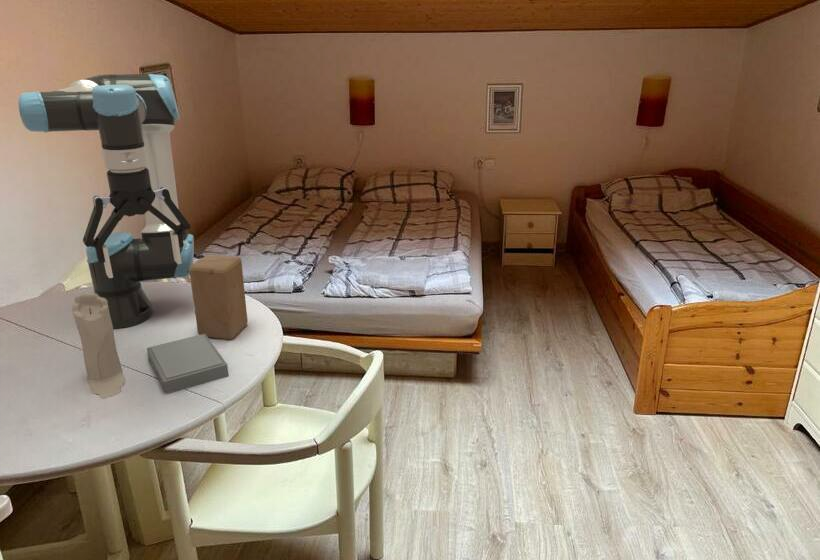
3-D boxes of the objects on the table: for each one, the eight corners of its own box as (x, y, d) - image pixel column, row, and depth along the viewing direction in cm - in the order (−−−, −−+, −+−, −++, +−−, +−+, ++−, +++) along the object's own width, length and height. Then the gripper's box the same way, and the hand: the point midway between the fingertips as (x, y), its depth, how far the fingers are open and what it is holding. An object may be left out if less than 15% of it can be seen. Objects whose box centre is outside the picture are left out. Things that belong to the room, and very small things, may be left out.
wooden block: (232, 341, 152) (223, 269, 144) (196, 337, 153) (186, 266, 146) (249, 324, 161) (242, 256, 153) (215, 320, 163) (207, 252, 155)
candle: (93, 401, 126) (74, 318, 118) (86, 372, 137) (68, 294, 129) (129, 392, 130) (113, 310, 122) (120, 364, 140) (104, 287, 133)
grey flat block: (148, 358, 143) (146, 347, 142) (206, 343, 150) (204, 332, 149) (165, 393, 129) (163, 381, 128) (228, 375, 136) (227, 363, 135)
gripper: (57, 180, 105) (82, 288, 113) (197, 164, 118) (209, 262, 127) (51, 172, 110) (75, 275, 119) (186, 158, 124) (198, 251, 133)
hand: (144, 268), depth 123 cm, fingers open, 13 cm apart
